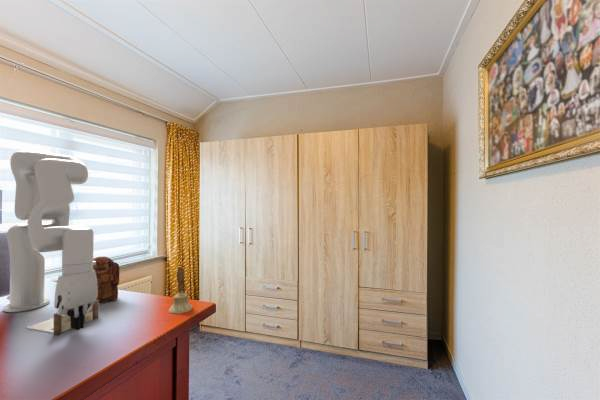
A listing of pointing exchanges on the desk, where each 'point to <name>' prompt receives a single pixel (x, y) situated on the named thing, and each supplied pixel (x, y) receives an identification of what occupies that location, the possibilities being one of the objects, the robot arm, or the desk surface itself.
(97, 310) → the fence fixed
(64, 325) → the fence panel
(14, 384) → the desk surface
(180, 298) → the hand bell
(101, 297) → the wooden figurine
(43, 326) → the card
